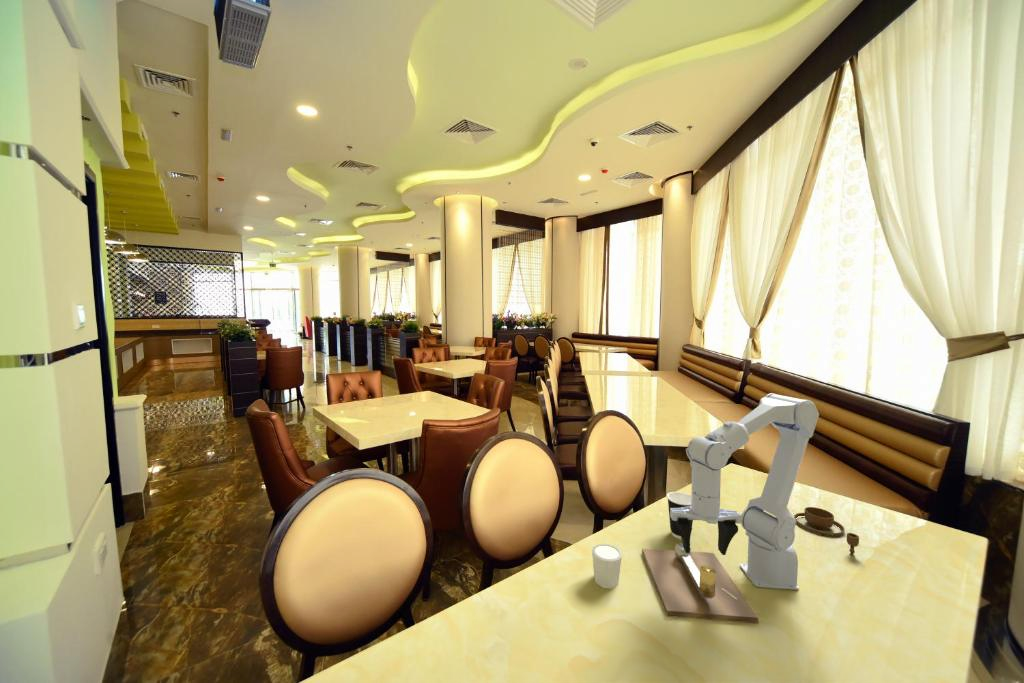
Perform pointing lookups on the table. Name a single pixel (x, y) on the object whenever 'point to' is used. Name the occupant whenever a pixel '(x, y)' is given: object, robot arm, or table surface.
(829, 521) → the place setting
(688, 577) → the bench base
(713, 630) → the table surface
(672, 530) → the dixie cup
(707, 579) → the lever
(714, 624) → the table surface
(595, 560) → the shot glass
